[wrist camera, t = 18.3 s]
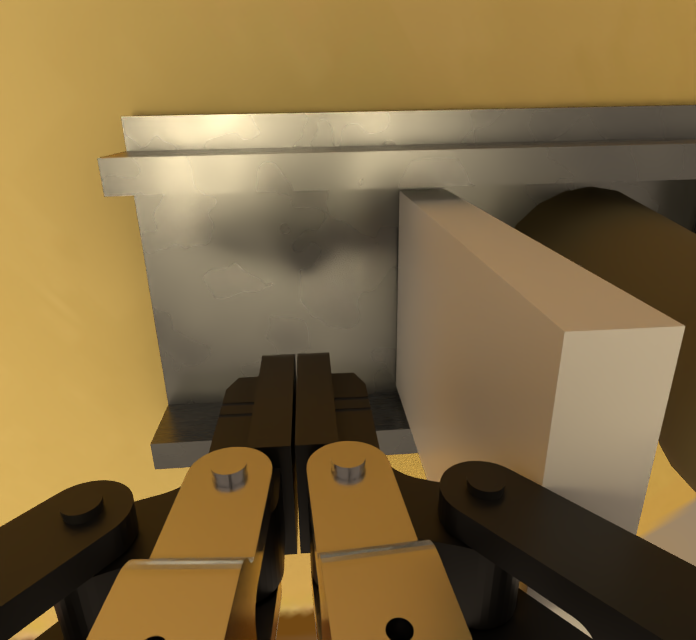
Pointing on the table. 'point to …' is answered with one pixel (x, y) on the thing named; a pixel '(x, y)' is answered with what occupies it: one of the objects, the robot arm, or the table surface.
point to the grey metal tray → (344, 228)
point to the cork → (635, 282)
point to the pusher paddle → (527, 361)
